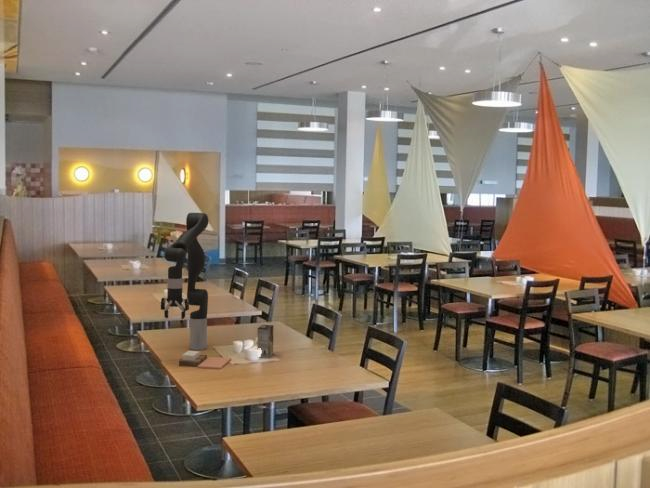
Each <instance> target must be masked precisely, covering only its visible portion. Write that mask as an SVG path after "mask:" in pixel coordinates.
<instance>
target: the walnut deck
mask: <svg viewBox="0 0 650 488" xmlns="http://www.w3.org/2000/svg"><path fill="white" fill-rule="evenodd" d="M207 358H208V355H207V354H200V356H199V357H198V358H196V359H195V360H182V358H181V359H180V360H178V366H179V367H190V366H191V368H198V365H200V364H201V363H202V362H203V361H205V360H206V359H207Z"/></svg>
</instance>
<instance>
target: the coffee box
mask: <svg viewBox="0 0 650 488" xmlns="http://www.w3.org/2000/svg"><path fill="white" fill-rule="evenodd" d="M258 348H261V350H262V354H261V357H262V359H270V357H272V356H273V355H274V325H272V324H262V325H260V326H259V327H257V349H258Z"/></svg>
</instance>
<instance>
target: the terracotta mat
mask: <svg viewBox="0 0 650 488" xmlns="http://www.w3.org/2000/svg"><path fill="white" fill-rule="evenodd" d="M230 360H231V361H232V358H231V357H216V356H207V359H206V360H205V361H203V362H202V363H201V364H200V365H198V367H197V369H205V370H206V369H208V370H209V369H210V370H222V369H223V368H224V367H225V366H227V365H228V364H229V363H230V362H231V361H230Z"/></svg>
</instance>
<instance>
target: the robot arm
mask: <svg viewBox="0 0 650 488" xmlns="http://www.w3.org/2000/svg"><path fill="white" fill-rule="evenodd" d="M185 219H186V220H185V225H186V231H185V232H183V233H182V234H180V235H179V236H178V237H177V240H176V241H175V242H174V243H172V244H170V245H169V246H168V247H167V248H166V249H165V251H164V255H163V256H164V260H166V262H171V263H175V265H172V266H169V267H168V269H167V284H166V287H167V289H166V291H167V294H166V295H167V297H162V298H161V299H160V310H162V311H164V312H163V313H164V318H165V319H168V318H169V309H170V308H173V307H175V308H179V310H181V319H182V320H183V319H184V320H185V318H186V311H189V310H190V306H196V307H197V306H198V307H199V308H198V309H197V310H193V311H191V312H190V313H189V349H190V350H191V351H203V350H207V349H208V309H209V308H208V307H209V303H208V302H209V293H208V291H207V289H206V288H205V289H204V288H196V285H197V284H196V282H197V280H198V277H200V275H201V273H202V272H203V270H204V268H205V265H206V260H205V259H206V257H205V255H206V253H205V251H204V249H203V247H202V245H201V244H200V242H199V241H198V237H199V236H200V235H201V234H202V233H203V232H204V231H205V230H206V229H207V228H208V224H209V216H208V214H206V213H204V212H189V213H188V214H187V215H186V218H185ZM186 251H187V255H186ZM186 257H187V289H186V290H187V292H186V298H183V289H184V288H183V286H184V285H183V269H184V264H185V261H186ZM166 302H167V305H166ZM183 303H184V304H183Z"/></svg>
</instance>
